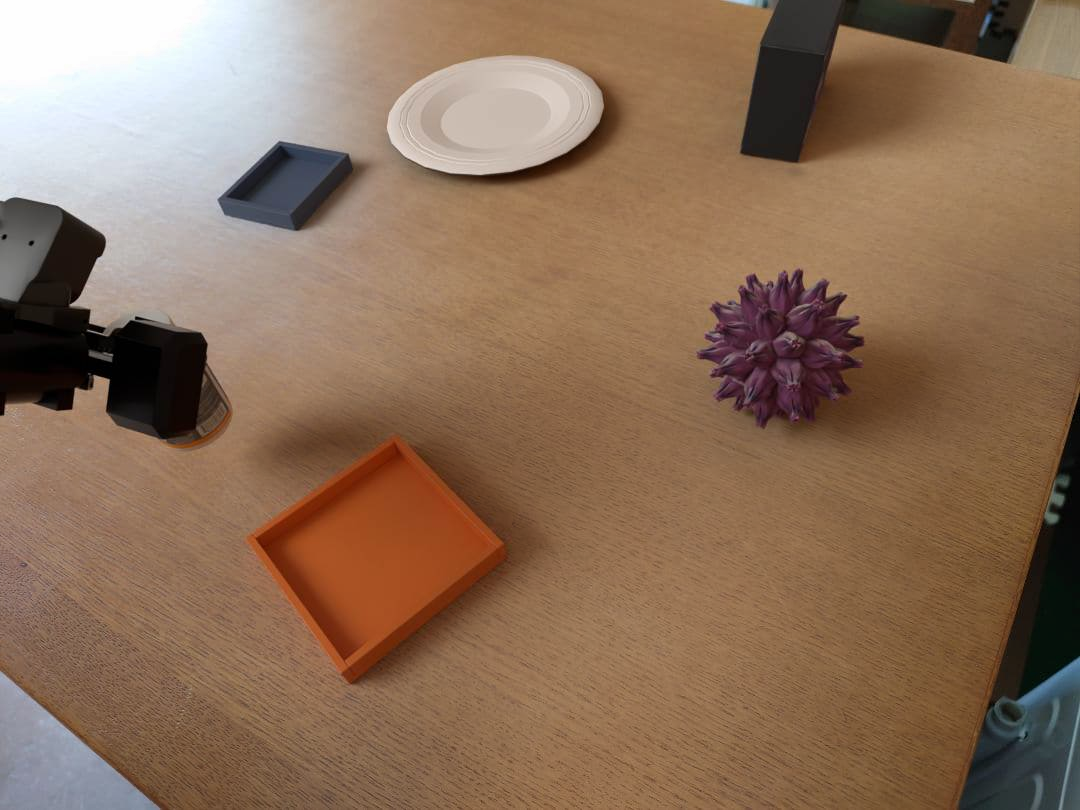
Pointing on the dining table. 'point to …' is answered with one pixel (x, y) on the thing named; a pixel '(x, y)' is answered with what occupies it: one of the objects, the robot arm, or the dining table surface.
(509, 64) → the plate
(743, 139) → the box
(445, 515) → the orange tray
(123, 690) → the dining table surface
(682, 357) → the dining table surface
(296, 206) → the blue tray
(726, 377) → the flower
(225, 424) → the pill bottle
